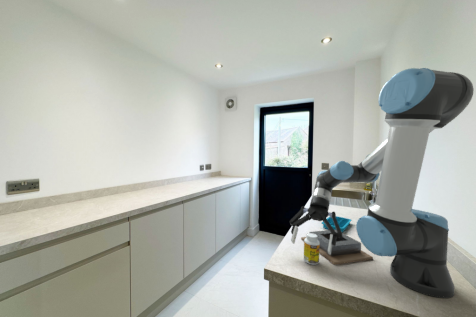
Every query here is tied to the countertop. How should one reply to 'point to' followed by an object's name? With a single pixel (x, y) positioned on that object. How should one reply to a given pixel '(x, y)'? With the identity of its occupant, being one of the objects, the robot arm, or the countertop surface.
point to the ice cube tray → (341, 221)
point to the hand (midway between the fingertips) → (309, 247)
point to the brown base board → (344, 257)
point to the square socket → (338, 243)
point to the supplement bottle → (311, 249)
